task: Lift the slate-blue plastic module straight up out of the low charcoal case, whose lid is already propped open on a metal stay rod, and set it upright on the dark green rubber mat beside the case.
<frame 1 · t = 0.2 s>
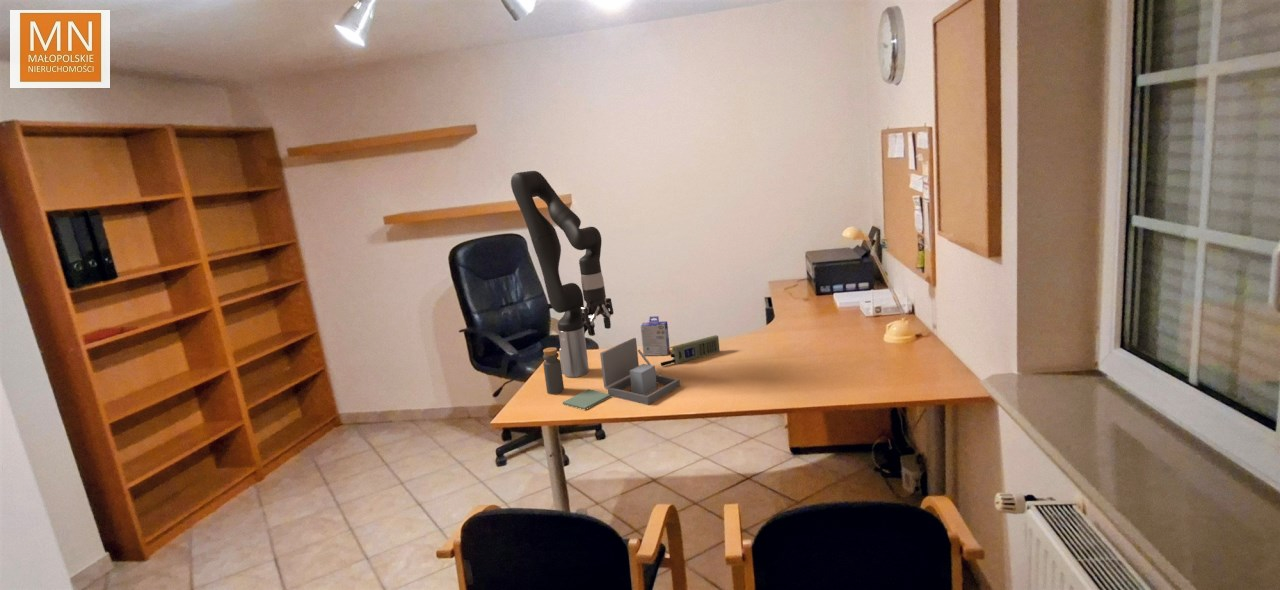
hand: (600, 331, 218), 18 cm above the table, tool pointing down, fingers open, 8 cm apart
ink cartridge box: (657, 353, 244), on the table
mat: (586, 400, 205), on the table
bottle: (555, 391, 216), on the table
handheld radio: (690, 360, 234), on the table
module: (644, 391, 208), resting in case
case: (644, 390, 208), on the table
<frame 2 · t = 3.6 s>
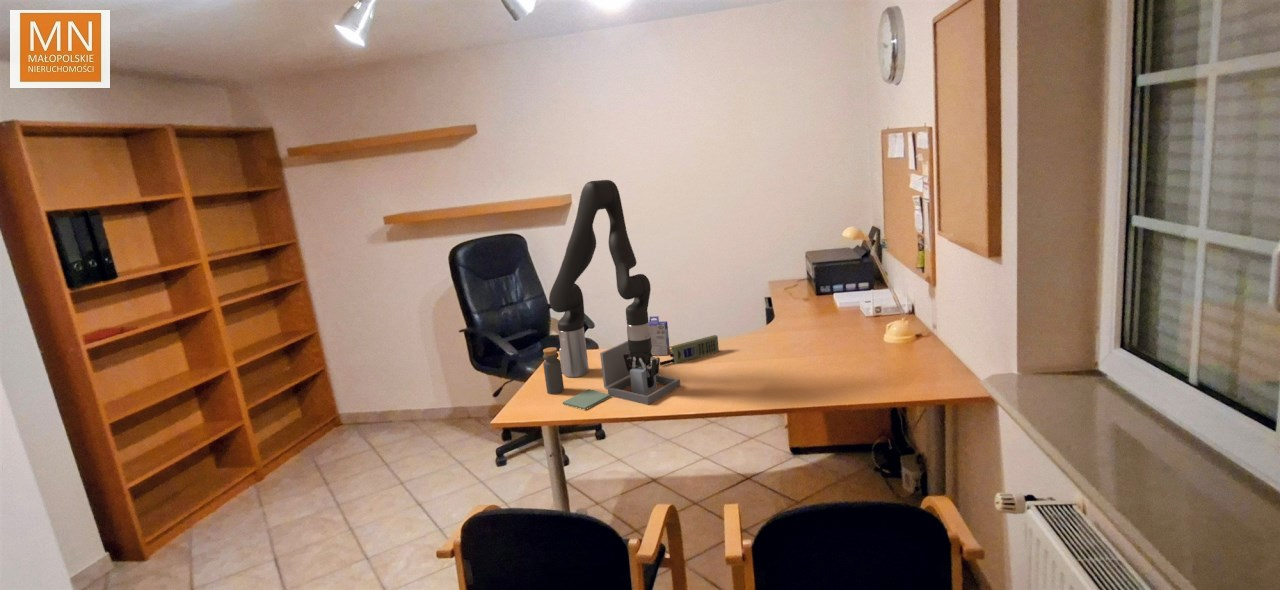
hand: (644, 385, 208), 2 cm above the table, tool pointing down, fingers closed on module, 5 cm apart
module: (644, 390, 208), resting in case, touching gripper
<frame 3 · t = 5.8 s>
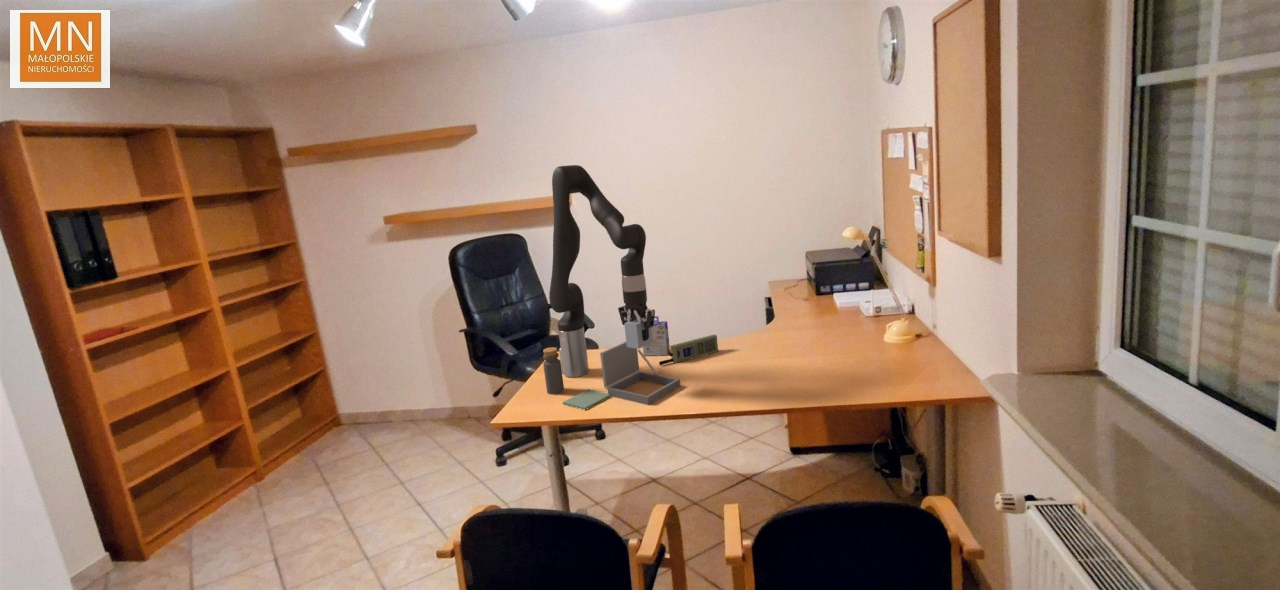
hand: (639, 338, 204), 18 cm above the table, tool pointing down, fingers closed on module, 5 cm apart
module: (639, 344, 204), point 16 cm above the table, touching gripper
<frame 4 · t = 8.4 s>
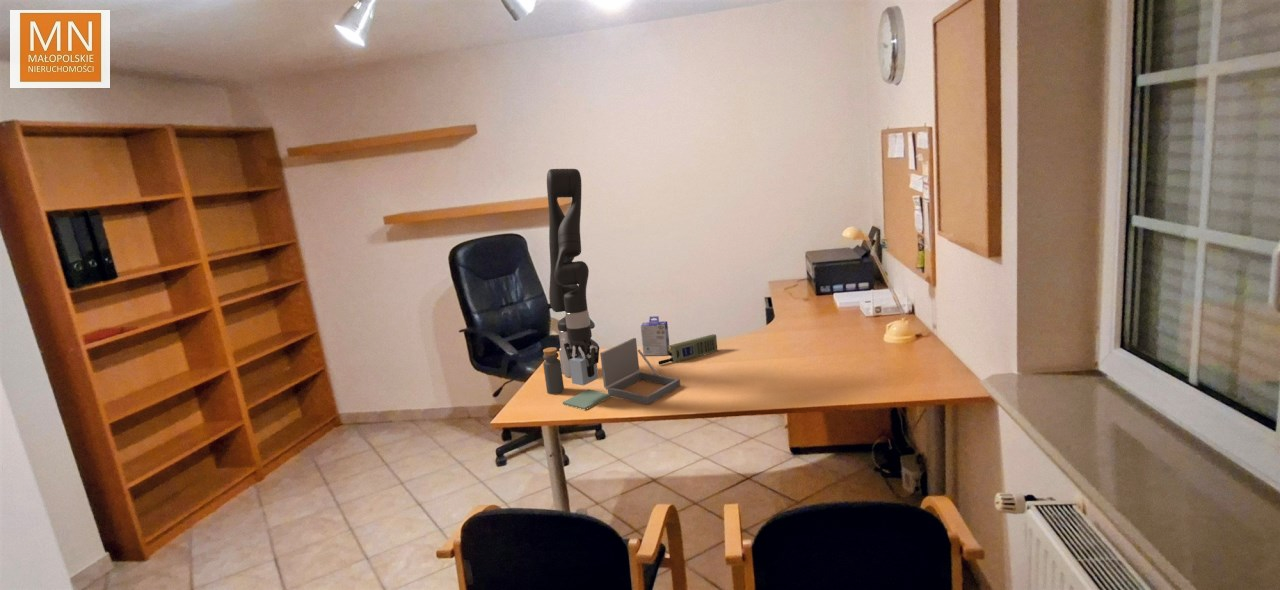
hand: (584, 374, 202), 9 cm above the table, tool pointing down, fingers closed on module, 5 cm apart
module: (585, 380, 203), point 7 cm above the table, touching gripper
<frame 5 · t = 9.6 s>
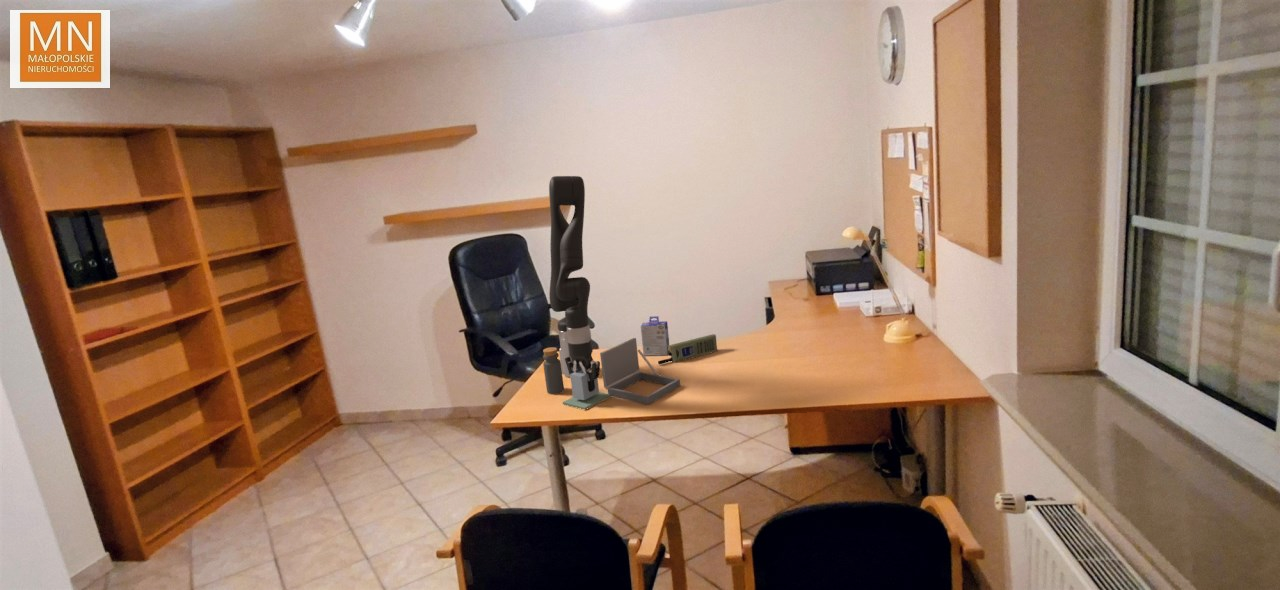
hand: (585, 389, 204), 4 cm above the table, tool pointing down, fingers closed on module, 5 cm apart
module: (586, 395, 204), point 2 cm above the table, touching gripper
when the fingers open (4 cm above the table, at t = 9.8 s): module drops 1 cm, resting on mat.
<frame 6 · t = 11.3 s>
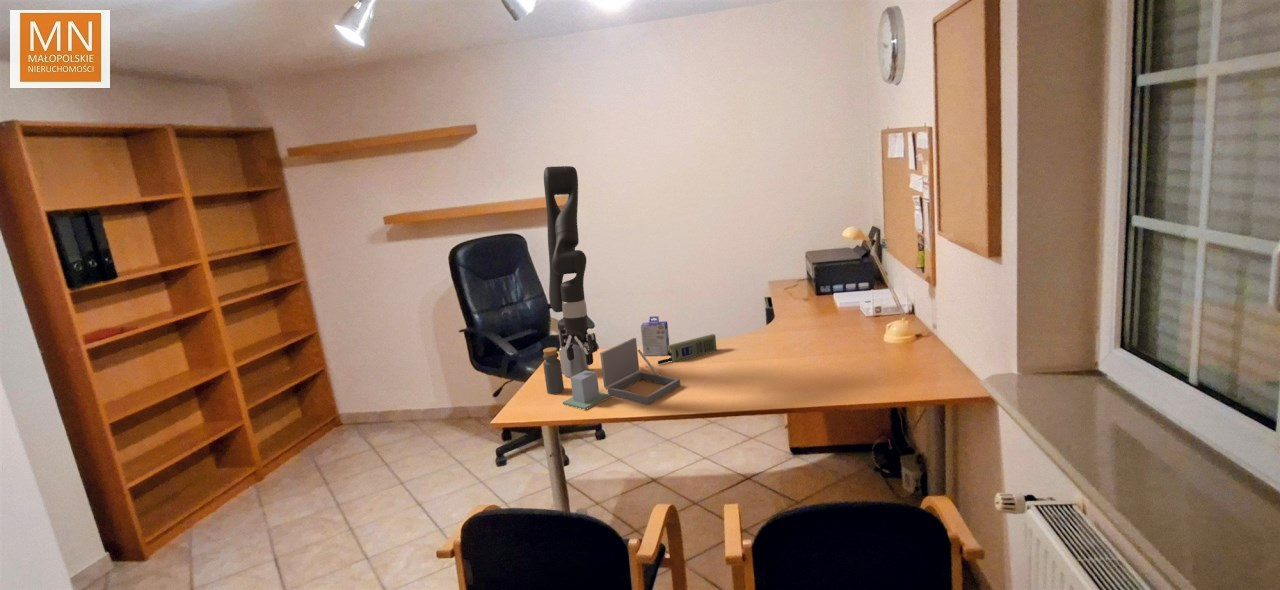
hand: (580, 362, 202), 13 cm above the table, tool pointing down, fingers open, 8 cm apart
module: (586, 398, 204), point 1 cm above the table, touching mat
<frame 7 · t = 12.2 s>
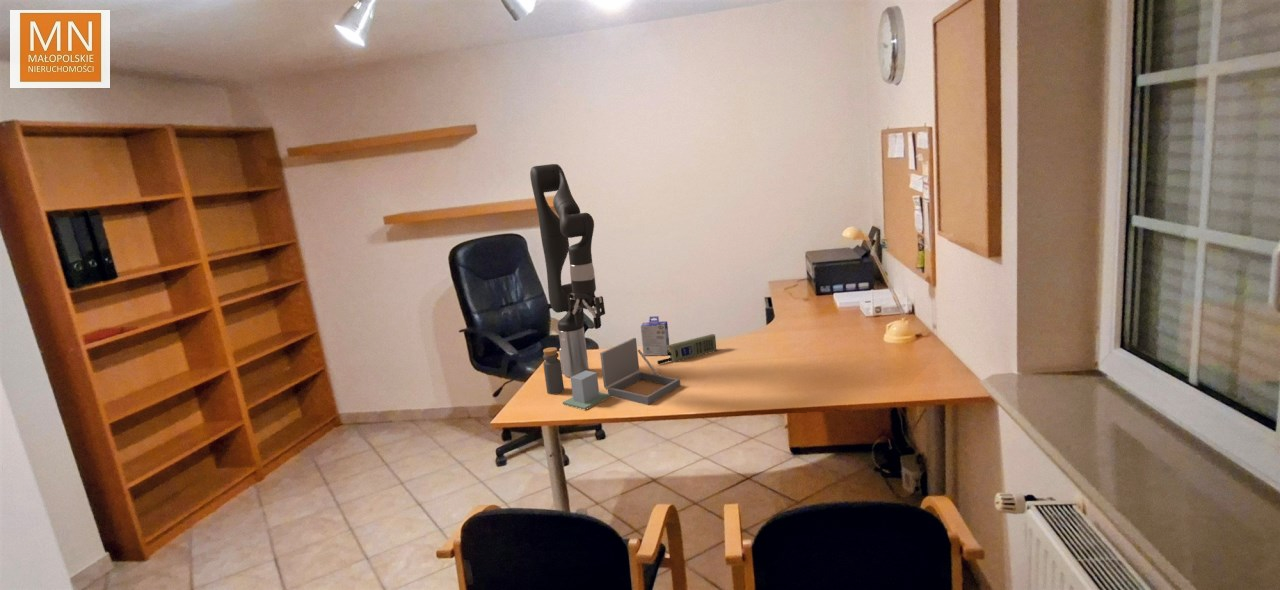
hand: (588, 326, 202), 24 cm above the table, tool pointing down, fingers open, 8 cm apart
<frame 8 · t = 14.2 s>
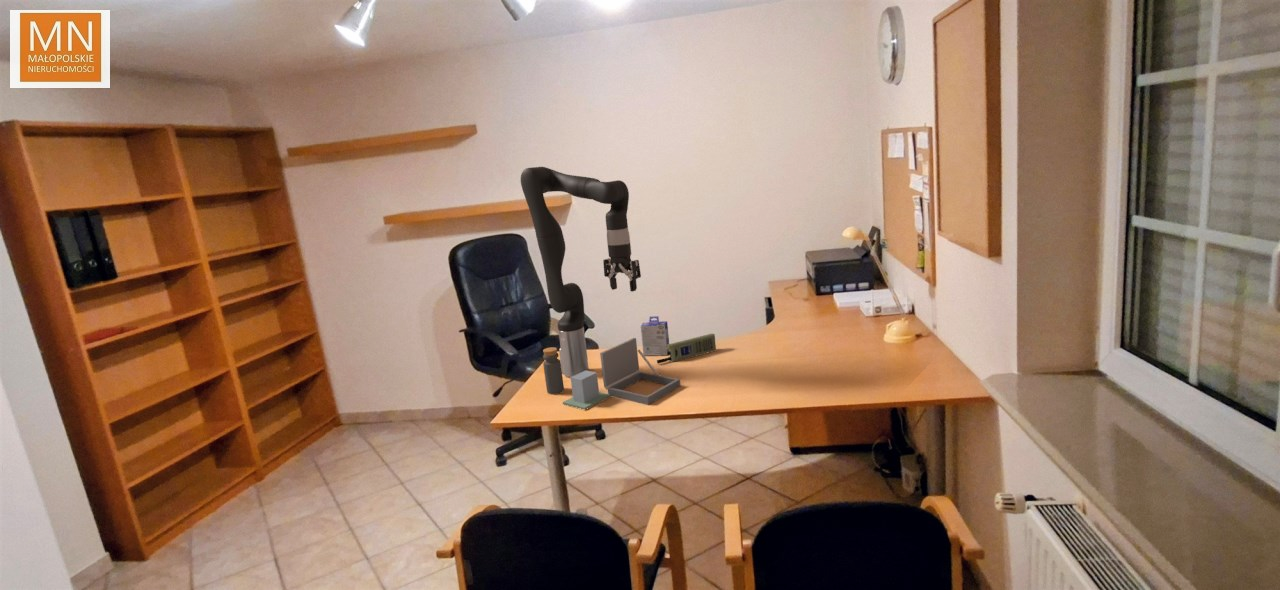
hand: (623, 290, 211), 32 cm above the table, tool pointing down, fingers open, 8 cm apart
at the end: module inside the target area on the mat (0.0 cm from its centre), point 0.8 cm above the mat's base; module tilted 0°; the gripper is holding nothing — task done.
